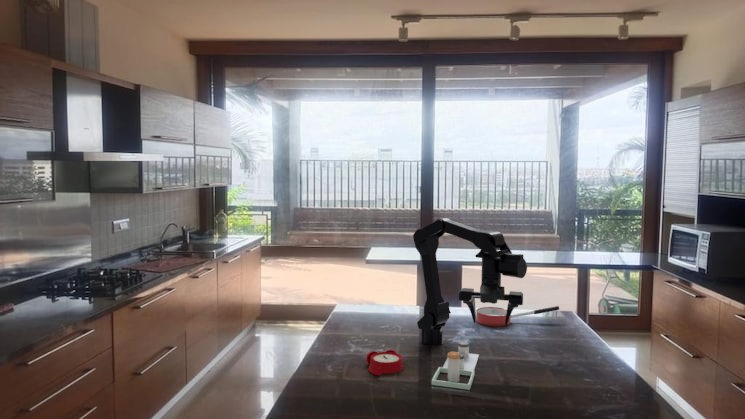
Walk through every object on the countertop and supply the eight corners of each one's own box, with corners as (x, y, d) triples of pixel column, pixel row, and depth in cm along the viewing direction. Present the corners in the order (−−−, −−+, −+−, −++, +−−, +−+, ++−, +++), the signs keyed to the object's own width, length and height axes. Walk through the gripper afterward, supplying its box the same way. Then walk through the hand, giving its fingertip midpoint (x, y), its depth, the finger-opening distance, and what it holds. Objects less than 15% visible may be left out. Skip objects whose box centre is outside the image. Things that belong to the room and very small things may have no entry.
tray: (431, 388, 139) (431, 380, 139) (438, 374, 149) (438, 366, 149) (469, 393, 136) (469, 385, 136) (474, 378, 146) (474, 371, 146)
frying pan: (547, 315, 211) (548, 300, 210) (563, 325, 198) (563, 308, 198) (471, 318, 207) (472, 302, 206) (482, 327, 194) (483, 311, 193)
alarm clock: (374, 367, 144) (362, 339, 158) (373, 387, 146) (361, 357, 160) (409, 364, 147) (395, 337, 161) (408, 383, 149) (394, 354, 163)
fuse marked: (446, 383, 141) (446, 355, 141) (448, 378, 145) (448, 351, 144) (458, 384, 140) (459, 356, 140) (460, 380, 143) (460, 352, 143)
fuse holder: (440, 374, 149) (441, 357, 149) (450, 354, 165) (450, 339, 165) (472, 377, 146) (472, 360, 146) (479, 357, 162) (479, 342, 162)
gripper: (456, 276, 151) (455, 328, 152) (522, 280, 145) (521, 335, 147) (461, 269, 162) (460, 318, 163) (523, 273, 156) (522, 324, 157)
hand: (490, 324), depth 157 cm, fingers open, 9 cm apart
